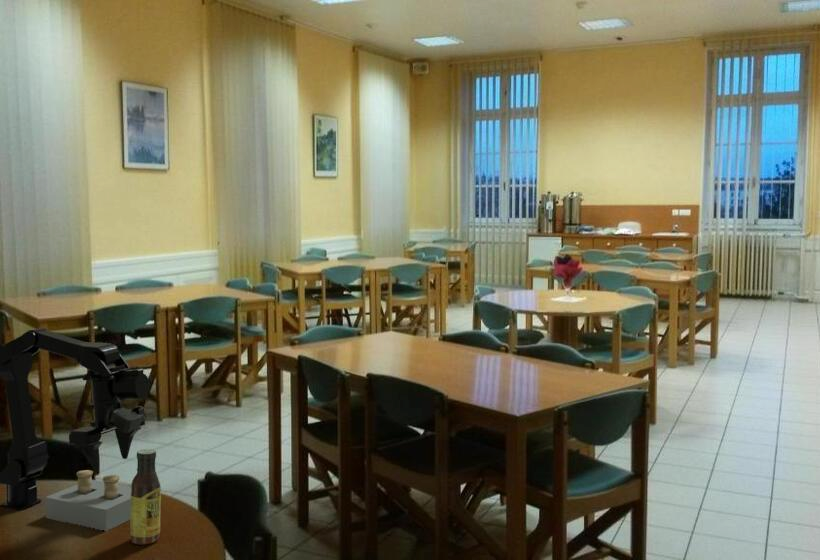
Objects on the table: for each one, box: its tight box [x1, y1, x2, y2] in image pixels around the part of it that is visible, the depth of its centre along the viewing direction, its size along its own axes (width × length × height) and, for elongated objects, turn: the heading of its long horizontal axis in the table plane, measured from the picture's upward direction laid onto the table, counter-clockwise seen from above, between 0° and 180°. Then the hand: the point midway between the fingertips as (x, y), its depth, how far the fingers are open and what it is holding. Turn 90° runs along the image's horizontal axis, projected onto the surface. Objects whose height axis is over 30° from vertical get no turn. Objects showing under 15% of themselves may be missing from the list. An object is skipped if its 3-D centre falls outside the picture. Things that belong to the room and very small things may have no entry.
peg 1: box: [76, 469, 94, 495], centre depth 187 cm, size 4×4×6 cm
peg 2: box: [102, 474, 120, 500], centre depth 184 cm, size 4×4×6 cm
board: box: [45, 479, 131, 532], centre depth 186 cm, size 18×14×5 cm
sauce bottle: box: [129, 448, 162, 546], centre depth 171 cm, size 7×6×20 cm
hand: (111, 464), depth 183 cm, fingers open, 9 cm apart
